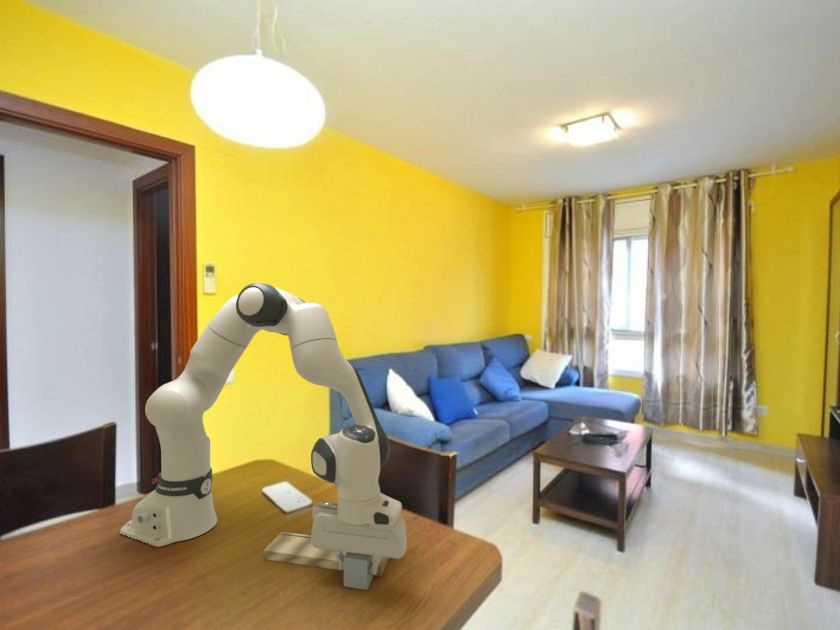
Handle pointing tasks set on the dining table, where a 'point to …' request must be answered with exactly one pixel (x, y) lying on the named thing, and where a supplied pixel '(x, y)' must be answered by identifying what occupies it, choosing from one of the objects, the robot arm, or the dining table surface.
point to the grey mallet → (357, 570)
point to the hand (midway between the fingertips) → (358, 571)
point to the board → (306, 552)
